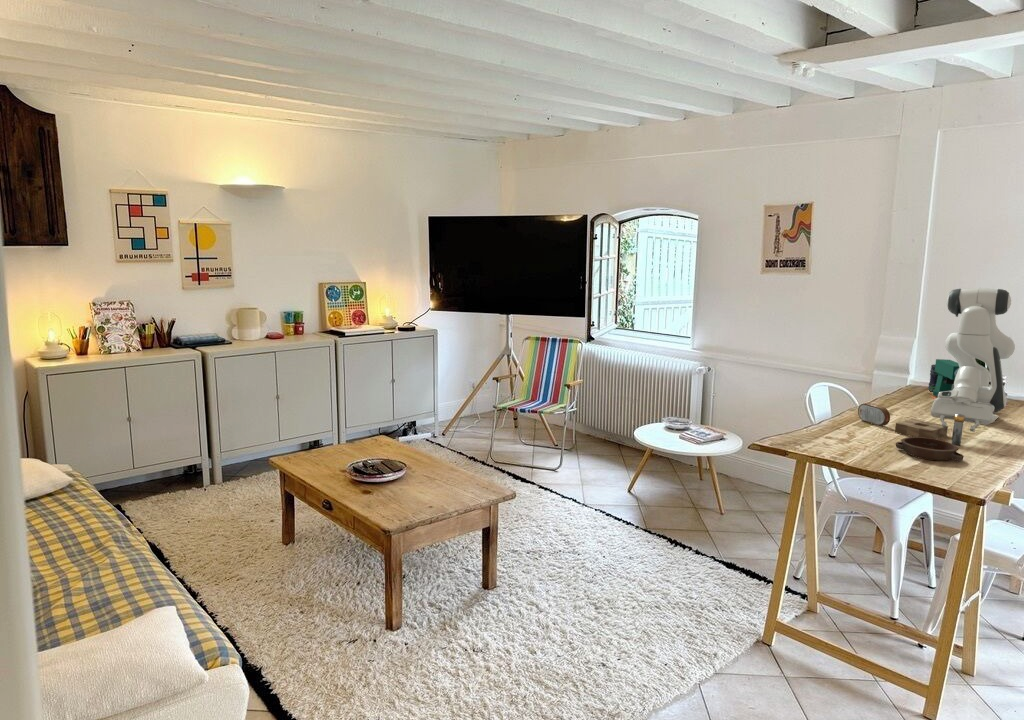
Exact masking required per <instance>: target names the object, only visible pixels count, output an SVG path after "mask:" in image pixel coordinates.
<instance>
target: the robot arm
mask: <svg viewBox="0 0 1024 720" xmlns="http://www.w3.org/2000/svg"><path fill="white" fill-rule="evenodd" d="M945 302H946V308H947V310H948V311H949V312H950V314H953V315H955V317H956V318H958V317H959V321H958V325H957V332H951V333H950V334H948V336H947V337H946V339H945V341H944V344H945V345H944V346H945V349H946V351H947V353H949V354H950V355H952V357H953V358H954V359H955V361H956V362H957V363H958V364H959V370H958V372H957V374H956V377H955V381H954V384H953V385H952V388H951V391H944V392H939V394H938V398H936V399H934V401H933V402H932V405H931V408H930V415H931V417H932V418H939V421H940V422H941V425H942V427H946V426H948V425H947V423H948V422H947V421H945V419H946V420H952V421H954V418H955V414H962V415H964V422H966V423H973V424H974V425H970V427H969V431H970V432H971V433H972V432H973V433H974V432H975V430H976V429H977V428H978V427H980V424H981V425H987V426H988V425H990V424H993V423H995V420H996V419H997V418H998V417H1000V416H999V415H997V414H994V413H998V412H1000V411H1003V410H1004V409H1005V407H1006V405H1007V395H1006V391H1005V386H1004V379H1003V370H1002V363H1001V360H1005V359H1006V360H1007V359H1009V358H1011V356H1012V355H1013V354H1014V353H1015V349H1016V347H1015V346H1016V344H1015V342H1014V340H1013V339H1012V337H1010V336H1008V335H1006V334H1005V333H1003V332H1002V331H1001V330H1000V328H999V327H998V326H997V320H996V316H999V315H1005V313H1007V312H1008V311H1009V309H1010V308H1011V305H1012V296H1011V295H1010V293H1009V291H1007V290H1006V289H1003V288H998V289H995V288H987V287H984V288H983V287H979V288H977V287H976V288H973V287H972V288H956V289H952V290H951V291H949V294H948V295H947V297H946V301H945ZM959 315H960V316H959ZM976 359H977V360H979V361H982V362H983V363H985V364H986V365H987V367H988V368H986V367H984V366H983V365H981V364H979V362H977V360H976ZM989 384H990V386H989ZM998 419H999V418H998ZM998 419H997V420H998ZM997 420H996V421H997Z"/></svg>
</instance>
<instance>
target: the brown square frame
mask: <svg viewBox="0 0 1024 720" xmlns="http://www.w3.org/2000/svg"><path fill="white" fill-rule="evenodd" d="M948 427H949V426H948V425H946V427H942V424H938V423H935V422H928V421H925V420H919V419H915V418H911V419H906V420H902V421H899V422H896V423H895V429H894V433H895V432H897V433H896V434H899V433H901V434H900V435H903V434H906V435H905V436H908V435H910V436H909V437H912V436H914V437H924V438H933V439H938V440H939V439H941V438H944V437H946V436H947V435H948Z"/></svg>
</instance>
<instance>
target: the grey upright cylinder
mask: <svg viewBox="0 0 1024 720" xmlns="http://www.w3.org/2000/svg"><path fill="white" fill-rule="evenodd" d="M964 422H965V421H964V415H962V414H955V418H954V420H953V429H952V436H951V443H952V444H954V445H956V446H957V447H959V446H961V444H962V438H963V437H962V435H963V430H964V429H963V427H964Z"/></svg>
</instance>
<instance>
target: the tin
mask: <svg viewBox="0 0 1024 720" xmlns="http://www.w3.org/2000/svg"><path fill="white" fill-rule="evenodd" d="M857 414H858V418H859V419H860V420H861V421H863V422H865V423H867V424H871V423H872V424H871V425H874V424H875V426H877V425H879V426H878V427H881V426H883V425H884V426H887V425H888V424H889V423H890V422H891V421H890V420H891V414H890V412H889V410H888V409H887V408H886V407H884V406H883V405H879V404H878V405H877V404H875V403H871V402H865V403H861V404H859V406H858V408H857ZM884 426H883V427H884Z"/></svg>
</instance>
